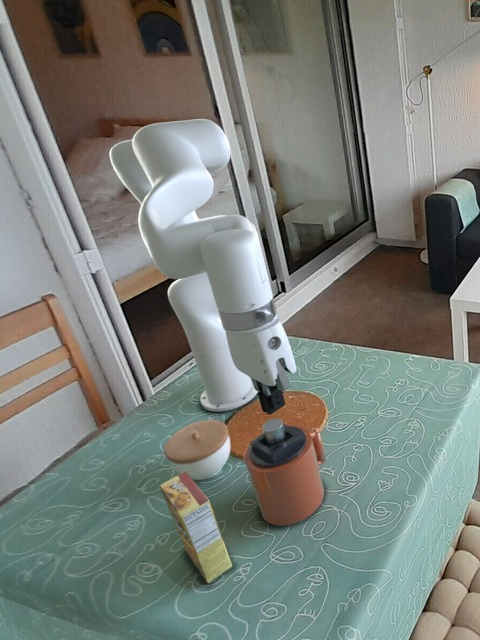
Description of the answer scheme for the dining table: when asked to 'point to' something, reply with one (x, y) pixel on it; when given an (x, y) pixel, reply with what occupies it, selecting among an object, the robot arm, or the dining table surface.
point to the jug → (287, 475)
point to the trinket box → (199, 449)
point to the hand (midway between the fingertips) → (274, 408)
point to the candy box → (196, 525)
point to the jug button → (274, 431)
